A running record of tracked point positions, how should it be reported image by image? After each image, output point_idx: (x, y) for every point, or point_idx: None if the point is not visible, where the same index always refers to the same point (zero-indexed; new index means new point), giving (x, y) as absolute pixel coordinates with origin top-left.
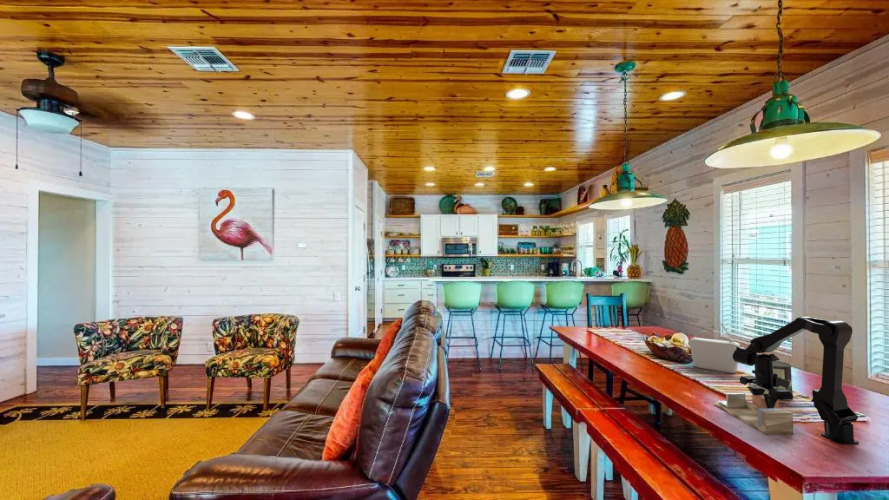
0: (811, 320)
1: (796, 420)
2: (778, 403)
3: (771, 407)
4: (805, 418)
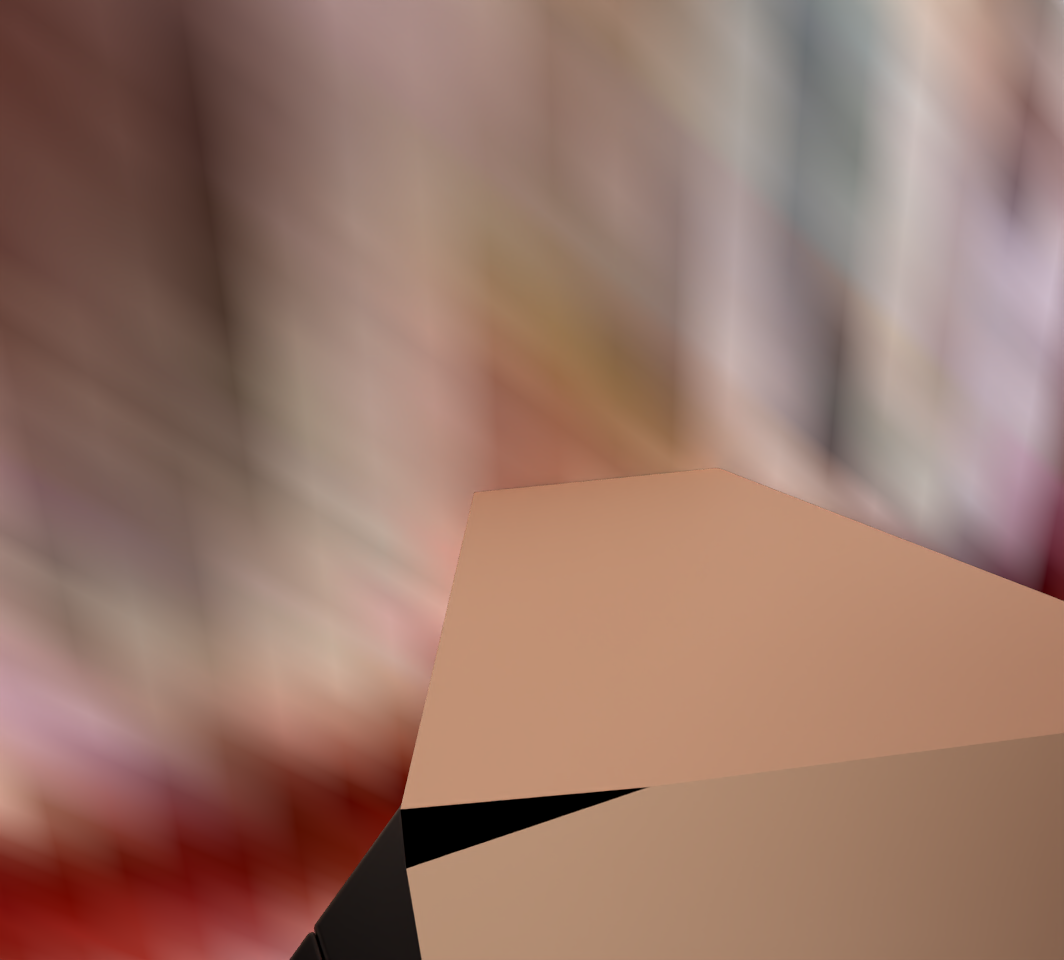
0: None
1: (1056, 353)
2: (935, 570)
3: None
4: (1002, 30)
